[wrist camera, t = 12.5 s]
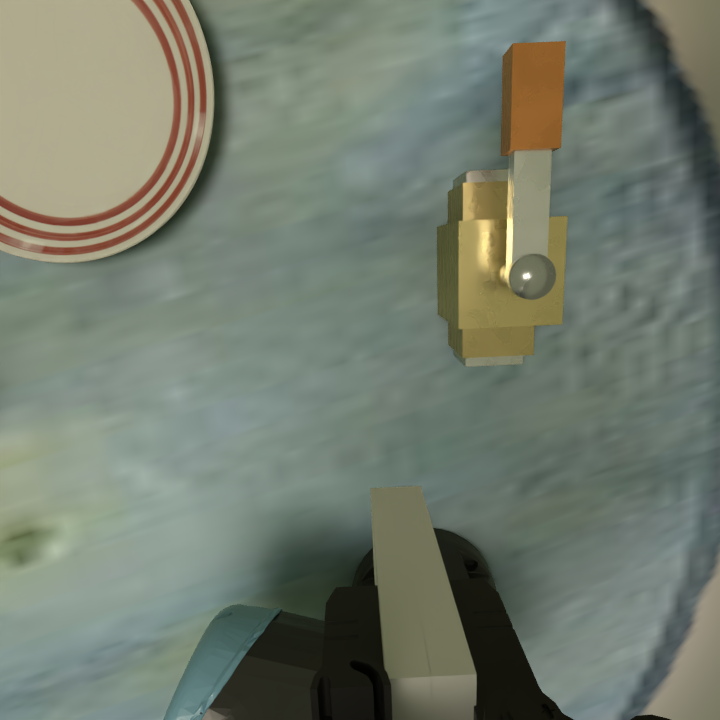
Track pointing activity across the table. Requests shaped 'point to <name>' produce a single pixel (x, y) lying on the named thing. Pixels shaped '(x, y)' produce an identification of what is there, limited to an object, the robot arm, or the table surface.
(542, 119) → the valve lever
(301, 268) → the table surface
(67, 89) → the dinner plate
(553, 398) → the table surface
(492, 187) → the valve pipe
